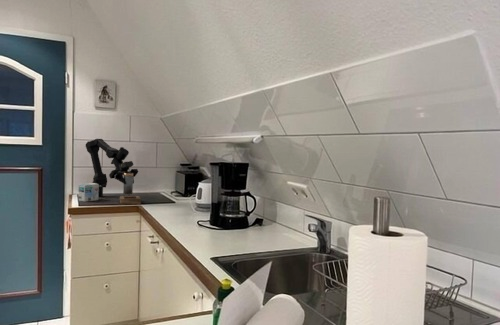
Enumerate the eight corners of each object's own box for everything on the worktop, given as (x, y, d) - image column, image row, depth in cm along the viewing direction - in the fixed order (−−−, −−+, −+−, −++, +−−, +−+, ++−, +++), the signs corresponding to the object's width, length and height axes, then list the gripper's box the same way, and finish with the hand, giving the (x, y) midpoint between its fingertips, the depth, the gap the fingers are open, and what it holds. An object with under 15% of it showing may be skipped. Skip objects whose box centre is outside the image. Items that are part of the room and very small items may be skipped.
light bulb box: (84, 201, 242) (84, 184, 242) (77, 200, 246) (78, 183, 245) (98, 199, 251) (99, 183, 251) (92, 198, 255) (92, 182, 254)
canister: (121, 193, 245) (122, 173, 244) (130, 192, 249) (130, 172, 248) (125, 194, 241) (125, 174, 240) (134, 193, 245) (134, 173, 244)
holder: (119, 201, 250) (119, 196, 250) (138, 200, 254) (139, 195, 254) (120, 204, 239) (120, 199, 239) (140, 203, 243) (140, 198, 243)
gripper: (112, 157, 238) (122, 176, 233) (137, 156, 253) (147, 174, 248) (104, 168, 243) (114, 187, 238) (129, 167, 259) (139, 185, 253)
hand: (129, 183), depth 244 cm, fingers closed on canister, 6 cm apart
